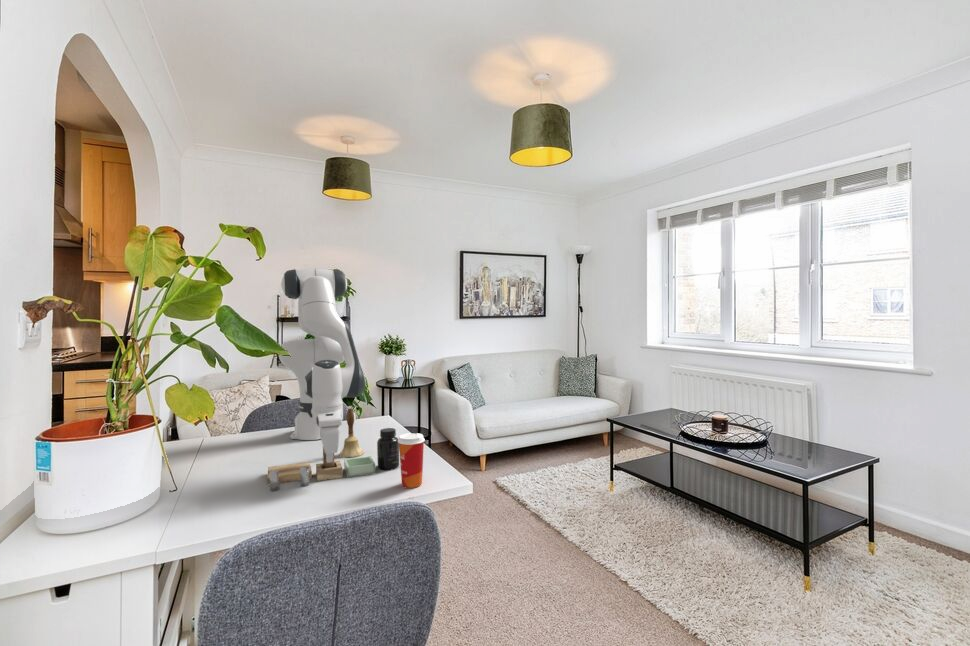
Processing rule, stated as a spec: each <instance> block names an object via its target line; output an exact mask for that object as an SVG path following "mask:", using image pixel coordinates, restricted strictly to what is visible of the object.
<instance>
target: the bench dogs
mask: <svg viewBox="0 0 970 646" xmlns="http://www.w3.org/2000/svg"><path fill="white" fill-rule="evenodd" d="M269 479H270V485H269V491H270V492H276V491H279V490H280V483H279V471H278V470H274V471H270V472H269ZM299 481H300V482H299V483H300V486H301V487H308V486H310V485H311V484H310V479H309V467H308V466H304V467H301V468H300V480H299Z"/></svg>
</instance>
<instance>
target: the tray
mask: <svg viewBox="0 0 970 646" xmlns="http://www.w3.org/2000/svg"><path fill="white" fill-rule="evenodd" d="M343 462H344V464H343V466H344V473H345V475H346V477H347V478H354V477H361V476H367V475H366V474H368V475H374V473H375V474H376V463H375V461H374V460H373V458H372V456H370V455H369V456H361V457H360V456H359V457H353V458H345V459H344V460H343Z"/></svg>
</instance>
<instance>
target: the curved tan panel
mask: <svg viewBox="0 0 970 646" xmlns="http://www.w3.org/2000/svg"><path fill="white" fill-rule="evenodd" d="M304 466H308V467H309V478H310V479H312V478H313V475H312V473H313V472H312V466H311V463H310V461H305V462H298V463H291V464H283V465H275V466H268V467H267V482H266V483H267V485H268V484H270V479H269V472H270V471H274V470H278V471H279V484H281V482H283V483H288V482H287V481H290V482H296V481H300V468H301V467H304ZM295 480H296V481H295Z"/></svg>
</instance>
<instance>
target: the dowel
mask: <svg viewBox="0 0 970 646" xmlns="http://www.w3.org/2000/svg"><path fill="white" fill-rule="evenodd" d="M334 461H335V453H333V462H330V463H327V462H326V454H325V452H324V448H323V447H322V463H323V469H326V468H333V467H334Z"/></svg>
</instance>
